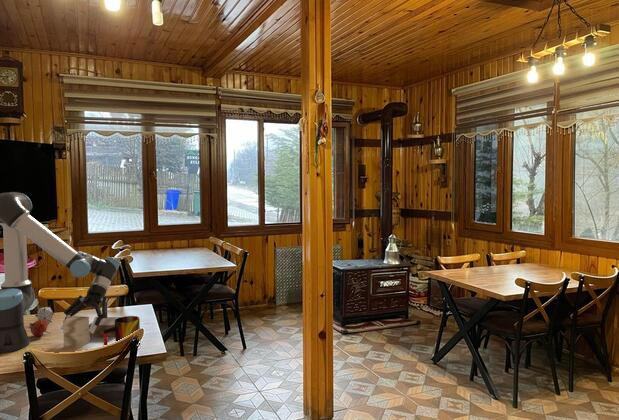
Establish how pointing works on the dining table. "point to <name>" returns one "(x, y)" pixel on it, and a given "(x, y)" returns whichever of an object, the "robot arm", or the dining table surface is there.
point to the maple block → (76, 331)
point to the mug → (123, 327)
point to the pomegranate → (39, 327)
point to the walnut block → (104, 324)
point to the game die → (45, 314)
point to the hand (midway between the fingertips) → (76, 331)
